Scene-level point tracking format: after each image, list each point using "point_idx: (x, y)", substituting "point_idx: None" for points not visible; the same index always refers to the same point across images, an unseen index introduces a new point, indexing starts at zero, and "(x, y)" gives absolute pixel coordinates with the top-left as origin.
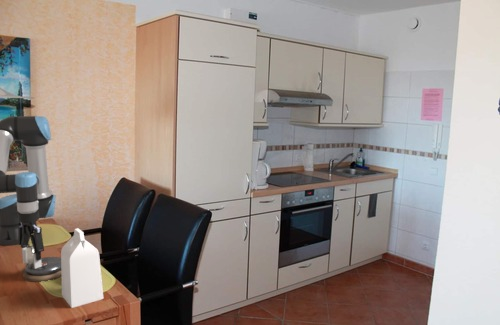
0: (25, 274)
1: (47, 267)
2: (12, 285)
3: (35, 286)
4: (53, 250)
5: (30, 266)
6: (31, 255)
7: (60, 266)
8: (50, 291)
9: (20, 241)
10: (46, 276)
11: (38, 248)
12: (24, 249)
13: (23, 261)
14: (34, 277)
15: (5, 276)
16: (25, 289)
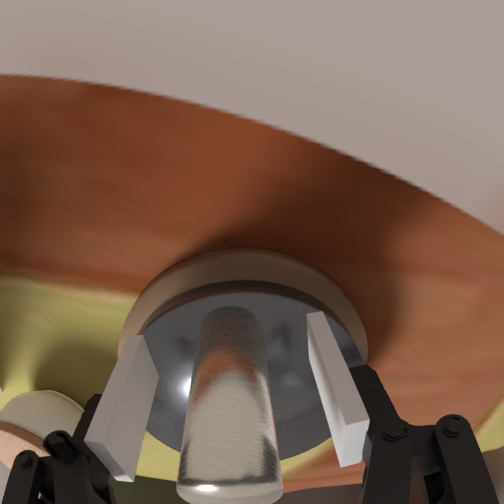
0: (244, 268)
1: (166, 391)
2: (203, 156)
3: (94, 257)
4: None
5: (204, 329)
6: (186, 413)
7: (149, 429)
8: (10, 286)
9: (443, 471)
10: (120, 342)
11: (10, 485)
12: (341, 424)
13: (318, 322)
14: (148, 292)
15: (388, 178)
16: (88, 201)
